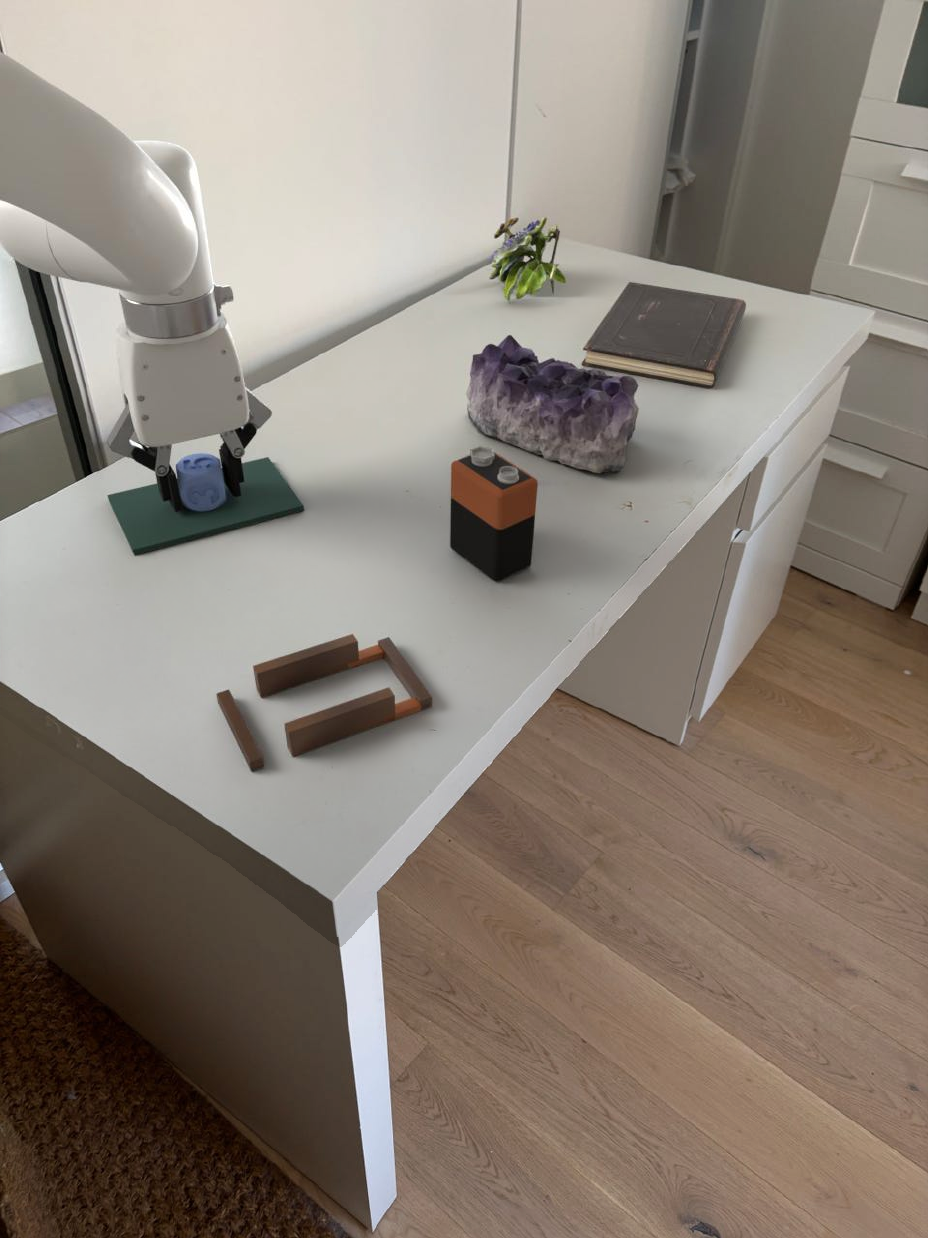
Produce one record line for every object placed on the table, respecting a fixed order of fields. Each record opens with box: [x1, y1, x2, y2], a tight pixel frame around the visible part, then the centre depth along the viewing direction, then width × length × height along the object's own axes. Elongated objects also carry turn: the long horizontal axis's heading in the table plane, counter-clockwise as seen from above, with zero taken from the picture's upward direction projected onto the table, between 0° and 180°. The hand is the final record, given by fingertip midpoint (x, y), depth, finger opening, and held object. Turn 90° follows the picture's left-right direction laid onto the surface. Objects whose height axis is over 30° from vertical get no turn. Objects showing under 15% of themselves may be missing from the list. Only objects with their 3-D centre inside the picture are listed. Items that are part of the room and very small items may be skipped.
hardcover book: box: [581, 281, 747, 389], centre depth 122 cm, size 16×23×2 cm
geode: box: [466, 334, 640, 474], centre depth 100 cm, size 20×12×10 cm, turn 59°
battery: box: [449, 445, 539, 583], centre depth 83 cm, size 4×7×10 cm, turn 39°
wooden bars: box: [215, 633, 433, 772], centre depth 71 cm, size 14×8×2 cm, turn 118°
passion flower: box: [488, 216, 567, 304], centre depth 133 cm, size 11×11×12 cm
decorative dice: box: [175, 452, 226, 512], centre depth 90 cm, size 4×4×4 cm
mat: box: [107, 456, 305, 556], centre depth 92 cm, size 16×10×1 cm, turn 118°
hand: (203, 495), depth 91 cm, fingers open, 4 cm apart
